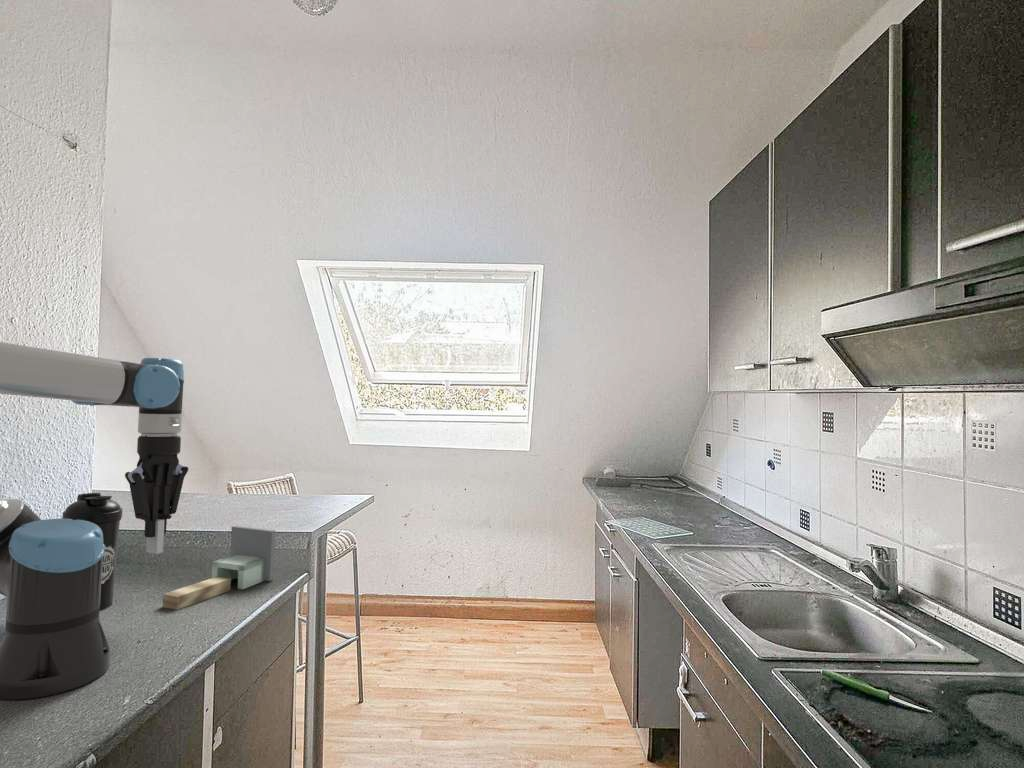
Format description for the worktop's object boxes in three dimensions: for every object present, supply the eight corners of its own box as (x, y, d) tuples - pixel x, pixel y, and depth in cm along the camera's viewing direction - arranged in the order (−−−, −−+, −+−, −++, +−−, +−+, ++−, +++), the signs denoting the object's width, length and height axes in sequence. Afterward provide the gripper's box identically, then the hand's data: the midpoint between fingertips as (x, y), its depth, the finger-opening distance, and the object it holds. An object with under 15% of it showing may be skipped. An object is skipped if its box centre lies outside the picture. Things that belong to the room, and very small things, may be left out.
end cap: (248, 590, 135) (250, 537, 136) (206, 583, 139) (208, 532, 139) (273, 580, 143) (275, 530, 144) (232, 574, 147) (235, 525, 147)
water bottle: (66, 619, 114) (73, 500, 115) (49, 606, 121) (56, 494, 121) (125, 606, 123) (131, 495, 123) (106, 595, 129) (112, 489, 130)
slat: (176, 611, 122) (177, 596, 122) (162, 608, 123) (163, 594, 123) (230, 591, 135) (230, 578, 135) (216, 589, 136) (217, 576, 136)
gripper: (145, 437, 111) (139, 562, 111) (200, 434, 124) (195, 546, 123) (115, 435, 114) (109, 558, 113) (172, 432, 126) (167, 543, 125)
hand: (154, 552), depth 118 cm, fingers closed
